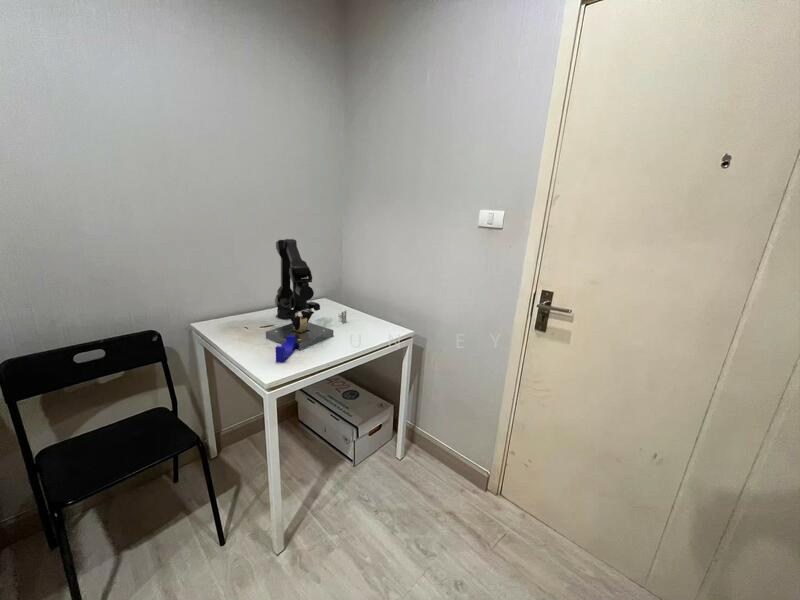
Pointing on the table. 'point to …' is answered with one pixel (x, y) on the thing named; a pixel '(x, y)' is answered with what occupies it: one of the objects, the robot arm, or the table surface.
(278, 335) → the grey square mounting plate
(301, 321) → the tan wooden block
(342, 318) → the architectural model
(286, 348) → the blue u-shaped bracket
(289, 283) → the robot arm
